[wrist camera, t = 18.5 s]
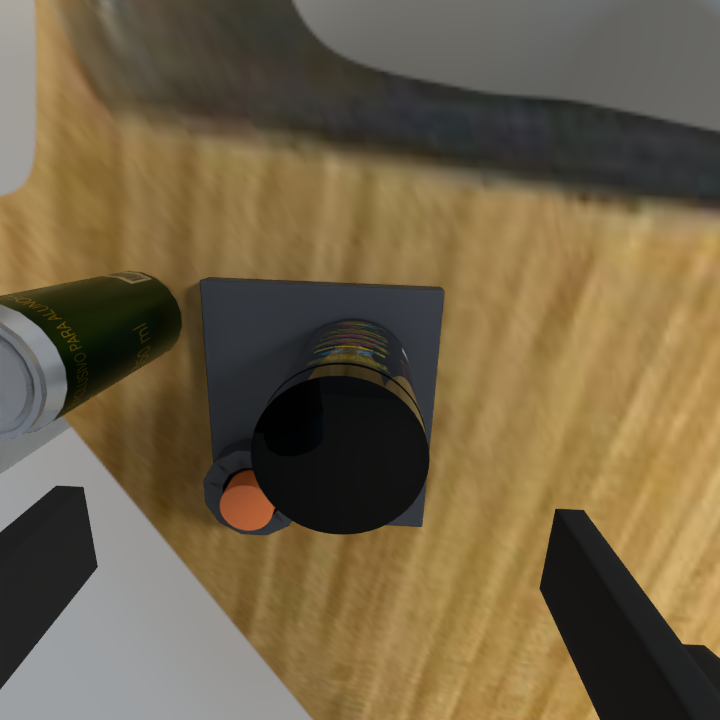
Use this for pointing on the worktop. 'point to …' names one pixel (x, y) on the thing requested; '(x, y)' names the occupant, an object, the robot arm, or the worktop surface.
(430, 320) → the kitchen scale
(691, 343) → the worktop surface
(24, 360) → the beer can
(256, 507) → the button
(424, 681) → the worktop surface
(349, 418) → the supplement container
